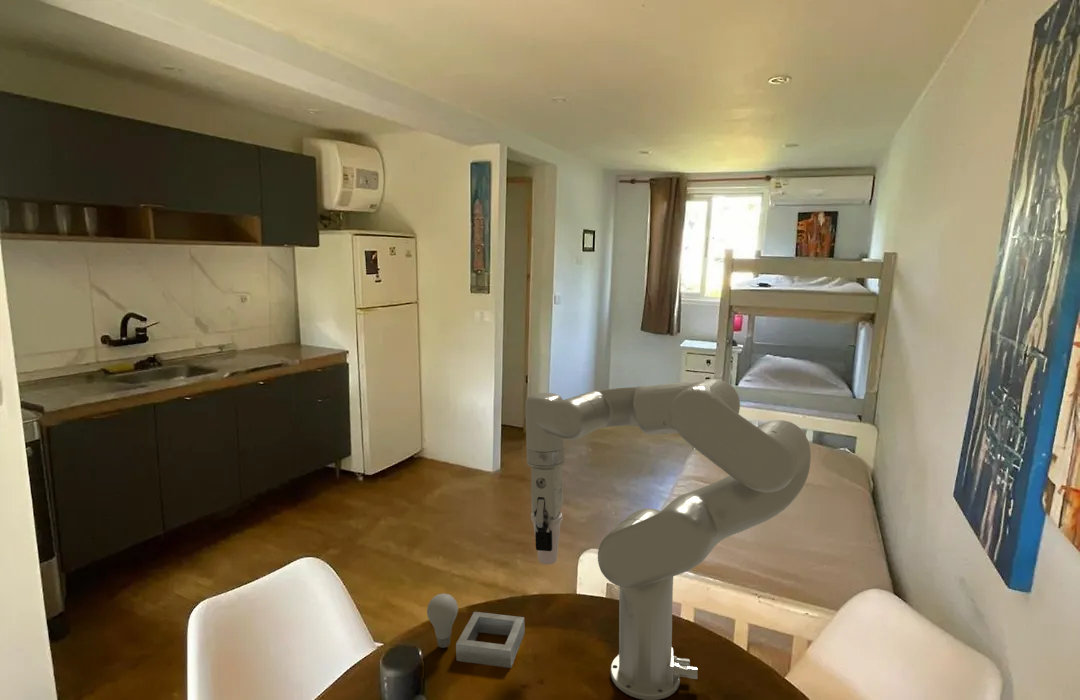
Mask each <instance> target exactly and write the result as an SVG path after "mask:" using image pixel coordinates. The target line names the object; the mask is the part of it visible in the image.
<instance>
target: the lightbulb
mask: <svg viewBox="0 0 1080 700" xmlns="http://www.w3.org/2000/svg"><path fill="white" fill-rule="evenodd" d="M458 612H459V606H458V602H457V600H456V599H455V598H454V596H452V595H451V594H449V593H438V594H437V595H434V596H433V597H432V598H431V600H430V601H429V602H428V605H427V609H426V615H427V618H428V620H429V622H430V623H431V624H432V626H433V629H434V631H435V636H436V642H437V646H438V647H439V648H440V649H441V648H442V649H445V648H447V647H448V646H450V644H451V635H452V627H453V625H454V622H455V620H456V618H457V616H458Z"/></svg>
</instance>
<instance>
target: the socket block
mask: <svg viewBox="0 0 1080 700" xmlns="http://www.w3.org/2000/svg"><path fill="white" fill-rule="evenodd" d="M525 628H526V627H525V616H515V615H507V614H497V613H491V612H483V611H482V612H481V611H473V613H472V615H471V617H470V619H469V620H468V622H467V624H466V625H465V627H464V629H463V631H462V633H461V634H460V636H459V638H458V639H457V641H456V644H455V655H456V656H455V657H456V661H457V662H461V663H462V662H463V663H470V664H478V665H485V666H493V667H499V668H508V669H511V668H513V664H514V661H515V659H516V656H517V654H518V651H519V649H520V646H521V643H522V641H523V638H524V636H525V633H526V632H525V631H526V629H525ZM480 633H481V634H482V633H483V634H488V635H489V634H491V635H498V636H499V635H500V636H504V637H505V636H507V639H506V641H505V643H504V644H502V643H494V642H493V643H492V642H486V641H478V640H477V638H478V636H479V634H480Z"/></svg>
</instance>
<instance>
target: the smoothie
mask: <svg viewBox="0 0 1080 700" xmlns="http://www.w3.org/2000/svg"><path fill="white" fill-rule="evenodd" d="M544 515H548V512H544ZM530 520H531V522H532V525H533V533H534V534H535V528H536V517H534V516H533V514H532V513H531V514H530ZM562 521H563V513H562V511H560V512H559V514H558V516H557V517H556V518H553V517H551V525H550V531H552V550H551V551H540V550H536V552H537V559H538V562H539V563H540V564H542V565H553V564H555V563H556V562H557V561H558V553H559V543H560V533H561V522H562ZM544 522H546V524H547V519H545V518H544ZM534 537H535V536H534ZM534 539H535V540H536V537H535V538H534Z"/></svg>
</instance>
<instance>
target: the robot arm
mask: <svg viewBox="0 0 1080 700" xmlns="http://www.w3.org/2000/svg"><path fill="white" fill-rule="evenodd" d="M524 404H525V405H524V406H525V407H524V408H525V409H524V410H525V438H526V444H525V445H526V465H527V466H529V467H530V468H531V477H530V479H531V481H530V482H531V483H530V485H531V486H530V491H531V493H530V496H531V497H530V499H531V500H530V501H531V502H530V503H531V514H533V516H534V517H536V528H535V533H534V537H536V539H535V550H536V551H537V550H540V551H551V550H552V531H550V525H551V517H553V518H556V517H557V516H558V514H559V512H561V510H562V507H563V504H564V502H565V501H564V500H565V499H564V496H565V495H564V479H563V468H562V467H563V465H565V463H566V462H565V460H566V459H565V440H568V441H572V440H578V439H581V438H582V437H585V436H587V435H589V434H591V433H592V432H595V431H597V430H600V429H603V428H612V427H623V426H626V427H627V426H629V427H633V426H634V427H638V428H639V430H640V431H641V432H642V433H644V434H645V435H649V436H651V435H652V436H656V435H667V434H678V435H679V436H680V437H681V438H682V439H683V440H684V441H685V442H686V443H688V444H689V445H690V446H691V447H692V448H693V449H695V450H696V451H697V452H698V453H700V454H701V455H702V456H703V457H705V458H707V459H708V460H709V461H710V462H712V463H713V464H714V465H716V466H717V467H718V468H720V469H721V470H722V471H723V472H725V473H726V474H727V475H728V476H726V477H724V478H722V479H720V480H718V481H715V482H713V483H710V484H709V485H706V486H702V487H700V488H697V489H695V490H692V491H690V492H689V491H688V492H687V493H683V494H681V495H678V496H677V497H676V498H675V499H674V500H672V501H671V502H669V503H668V504H667V505H666V506H665V507H664V508H663V509H662V510H660V509H655V508H653V507H652V508H650V507H649V508H647V507H646V508H641V509H638V510H636V511H634V512H632V513H631V514H630V515H628V516H627V517H626V518H625V519H623V520H622V521H621V522H620V523H619V524H618V525H617V526H616V527H614V528H613V529H612V530H611V531H610V532H608V533H607V534H606V535H605V536H604V538H603V539H602V540H601V542H600V545H599V547H598V550H597V562H598V563H597V564H598V566H599V569H600V572H601V574H602V575H603V577H605V578H606V579H607V580H608V581H609V582H610V583H612V584H613V585H615V586H617V587H619V593H618V596H619V597H618V598H619V605H618V606H619V611H618V612H619V615H618V617H619V619H618V622H619V623H618V626H619V630H618V631H619V632H618V643H619V644H618V645H619V646H618V654H617V656H615V657H614V659H613V660H612V662H611V665H610V677H611V680H612V682H613V683H614V685H615V687H617V688H618V689H619V690H620V691H621V692H623V693H624V694H626V695H628V696H630V697H632V698H636V699H639V700H661V699H663V700H664V699H665V698H668V697H670V696H672V695H673V694H674V693H676V691H677V690H678V688H679V686H680V682H681V677H682V678H687V679H694V680H698V667H697V666H692V665H691V661H690V658H686V657H683V658H682V657H677V655H674V648H673V647H672V646H673V645H672V641H673V637H672V636H673V595H674V594H673V593H674V577H675V576H678V575H681V574H683V573H687V572H689V571H691V570H692V569H694V568H697V566H698V565H700V564H701V563H703V562H704V561H705V560H706V558H707V557H708V556H709V555H710V553H711V552H712V551H713V549H714V548H715V547H716V546H717V545H718V544H719V543H720V542H721V541H723V540H724V539H726V538H729V537H731V536H734V535H736V534H739V533H742V532H744V531H746V530H748V529H751V528H754V527H756V526H758V525H761V524H763V523H765V522H767V521H770V520H771V519H773V518H775V517H776V516H777V515H779V514H780V513H782V512H783V511H784V510H785V509H786V508H788V507H789V506H790V505H791V504H792V503H793V501H795V499H796V498H797V497H798V496H799V494H800V493H801V491H802V490H803V487H804V486H805V483H806V481H807V479H808V477H809V473H810V469H811V468H810V467H811V455H812V454H811V447H810V442H809V440H808V437H807V436H806V433H805V432H804V431H803V429H801V427H799V426H798V425H797V424H795V423H793V422H792V421H788V420H785V419H783V420H780V419H779V420H777V419H776V420H775V419H774V420H769V421H766V422H764V423H762V424H760V425H758V426H756V425H755V424H754V423H752V422H751V421H749V420H748V419H746V418H745V417H744V416H742V415H741V414H740V410H741V402H740V397H739V394H738V392H737V391H736V388H734V386H732V385H731V384H730V383H728V382H727V381H725V380H721V379H714V378H711V379H699V380H698V379H697V380H690V381H689V380H687V381H682V382H672V383H665V384H664V383H662V384H654V385H643V386H634V387H633V386H632V387H631V386H630V387H629V386H628V387H618V388H610V389H600V390H599V389H598V390H593V391H588V392H585V393H581V394H579V395H576V396H573V397H572V396H571V397H570V398H565V399H563V397H562V396H561V395H559V394H556V393H552V392H538V393H533V394H531V395H529V396H528V397H526V400H525V403H524ZM544 512H548V515H544ZM544 518H545V519H547V524H546V522H544Z"/></svg>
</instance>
